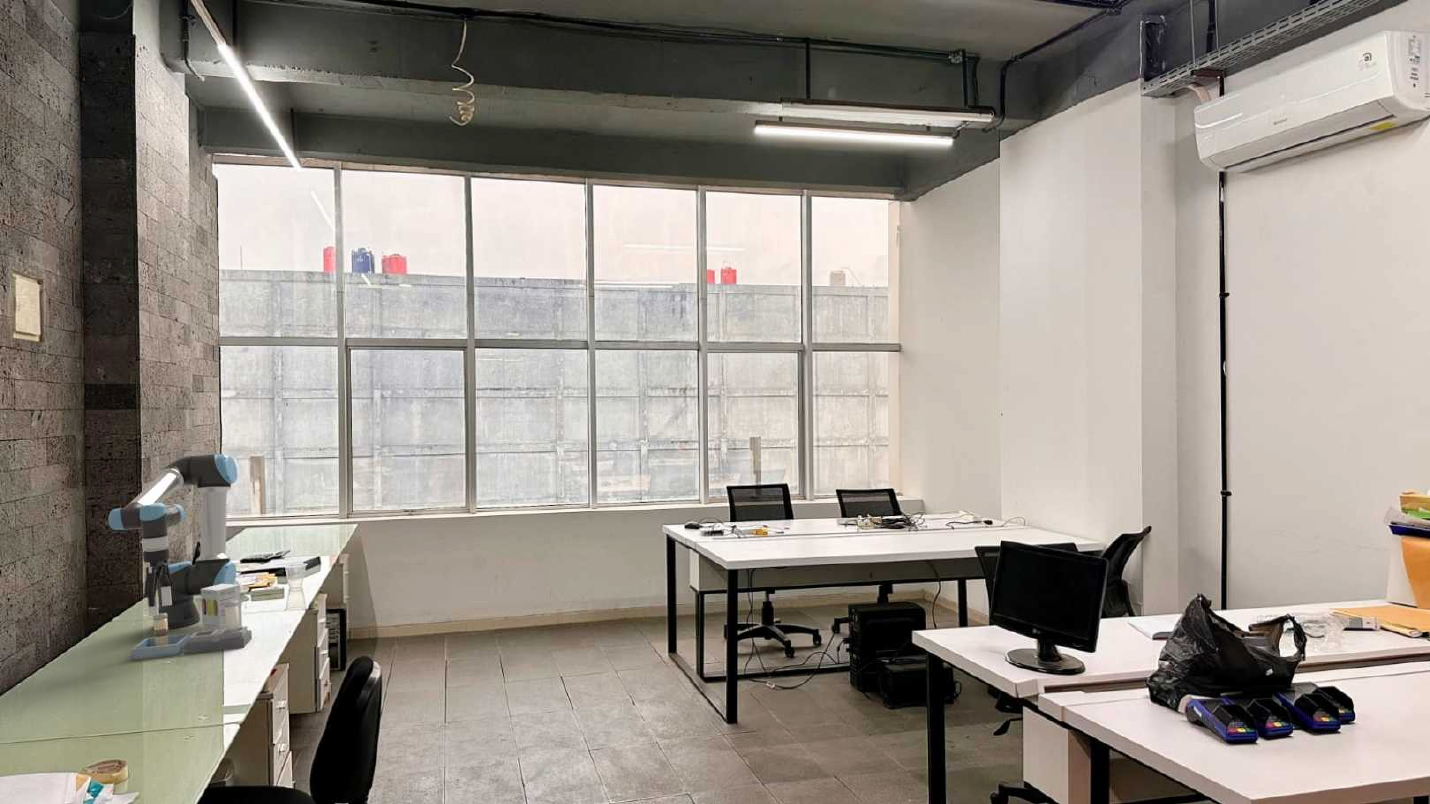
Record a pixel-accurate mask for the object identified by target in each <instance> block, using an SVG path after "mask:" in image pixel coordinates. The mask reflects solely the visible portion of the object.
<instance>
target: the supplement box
mask: <svg viewBox="0 0 1430 804" xmlns="http://www.w3.org/2000/svg"><path fill="white" fill-rule="evenodd" d="M200 598H201V599H200V600H201V601H200V602H201V617H202V631H209V630H218V629H219V633H220V632H221V631H222V630H223V629H226V618H225V607H224V602H226V601H231V600H238V614H239V627H243V621H242V620H243V619H242V604H241V585H240V584H219V585H215V586H211V587H207V588H203V589H201V595H200Z"/></svg>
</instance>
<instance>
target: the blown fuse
mask: <svg viewBox="0 0 1430 804" xmlns="http://www.w3.org/2000/svg"><path fill="white" fill-rule="evenodd" d="M167 617H168V616H167V613H159V615H158V616H152V621H153V638H154V637H155V646H162V645H169V637H168V636H169V629H168V622H167Z"/></svg>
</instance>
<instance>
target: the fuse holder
mask: <svg viewBox="0 0 1430 804" xmlns="http://www.w3.org/2000/svg"><path fill="white" fill-rule="evenodd" d="M224 607H225V618H226V629H223V630H222V631H221V632H220V633H219V629H218V630H209V631H203V630H201V631H200V630H199V631H195V632H194V633H191V636H190V637H189V642H188V643H187V644H186V645H185V650H184V655H189V654H190V655H191V654H197V653H198V654H199V653H206V652H214V651H215V652H216V651H222V650H224V651H225V650H233V649H241V648H245V647H246V646H247V644H249V643H250V641H252V639H253V634H252V630H251V629H250V630H248V625H247V626H242V627H239V614H238V600H231V601H226V602H224Z"/></svg>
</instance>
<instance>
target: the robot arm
mask: <svg viewBox="0 0 1430 804" xmlns="http://www.w3.org/2000/svg"><path fill="white" fill-rule="evenodd" d="M237 480H238V467H237V463H236V462H235V460H234V458H233V457H232V456H230V455H229V454H218V453H216V454H203V455H187V456H184V457H181V458H178V459H176V460H174V461H172V462H170V463H168V465H165V466H164V467H163V468H162V469H161V470H159V472H158V473H157V474H156V478H155V479H154V480H153V481H152V482H151V483H150V484H148V485H147V486H146V487H145V488H144V489H143V491H141V492H140V493H139V494H138V495H137V496H136V497H134V498H133V500H131V501H130V503H128V504H127V505H126V506H125V507H124V508H123V507H118V508H114V509H112V510H111V511H110V512H109V514H108V524H109V527H110V528H111V530H114V531H115V530H116V531H121V530H123V531H126V530H128V531H129V530H141V532H140V533H141V540H140V544H142V545H141V546H142V550H143V551H142V558H143V559H142V560H143V562H144V563H149V566H147V567H145V584H144V594H143V598H144V599H145V598H147V601H146V602H147V609H148V617H153V616H158V615H159V613H167V616H168V617H167V622H168V630H169V629H176V628H177V629H178V628H182V627H187V626H191V625H194V624H196V623H199V622H200V621H201V613H200V612H199V609H198V608H197V605H196V602H195V598H194V596H201V589H203V588H207V587H211V586H215V585H219V584H233V585H235V582H236V578H237V568H236V566H237V565H236V564H235V563H234V562H232V561H231V557H230V556H229V555H228V554H227V493H228V492H229V491H230V490H231V489H232V484H235V483H236V482H237ZM187 486H189V487H190V486H196V489H197V491H198V492H199V493H200V494H201V496H200V497H201V500H200V501H201V504H200V507H201V509H200V510H201V511H200V554H199V556H198V557H197V558H196V559H195V564H193V563H192V561H191V560H187V561H181V562H176V563H171V564H169V562H168V560H169V559H170V549H169V546H170V545H169V535H168V528H171V527H175V526H177V525H178V524H180V523H182V522H183V521H184V519H185V517H186V511H185V509H184V507H183V506H182V505H180V504H178V503H171V504H170V503H169V504H166V505H165V503H163V502H165V500H166V499H168V498H169V496H171V494H172V493H173V492H176V491H179V490H180V489H181V488H183V487H187Z"/></svg>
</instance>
